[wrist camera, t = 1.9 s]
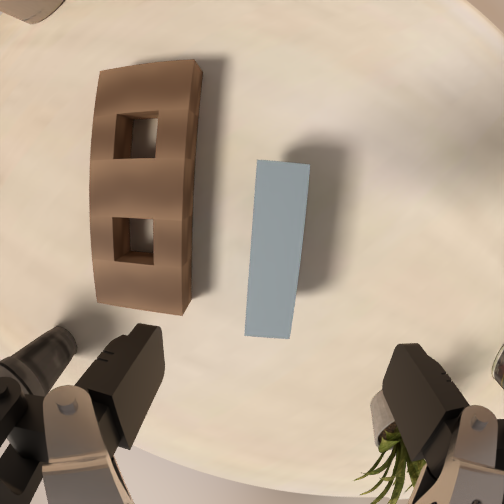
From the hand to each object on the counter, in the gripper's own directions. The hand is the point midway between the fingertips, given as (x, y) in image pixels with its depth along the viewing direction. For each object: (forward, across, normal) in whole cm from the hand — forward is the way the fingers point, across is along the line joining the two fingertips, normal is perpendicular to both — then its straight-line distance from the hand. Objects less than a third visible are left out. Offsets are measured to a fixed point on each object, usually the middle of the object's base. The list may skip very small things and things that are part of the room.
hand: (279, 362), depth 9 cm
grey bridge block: (+18, 0, 0) cm, 18 cm away
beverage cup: (+18, +26, +16) cm, 35 cm away
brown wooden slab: (+18, +12, -4) cm, 22 cm away
